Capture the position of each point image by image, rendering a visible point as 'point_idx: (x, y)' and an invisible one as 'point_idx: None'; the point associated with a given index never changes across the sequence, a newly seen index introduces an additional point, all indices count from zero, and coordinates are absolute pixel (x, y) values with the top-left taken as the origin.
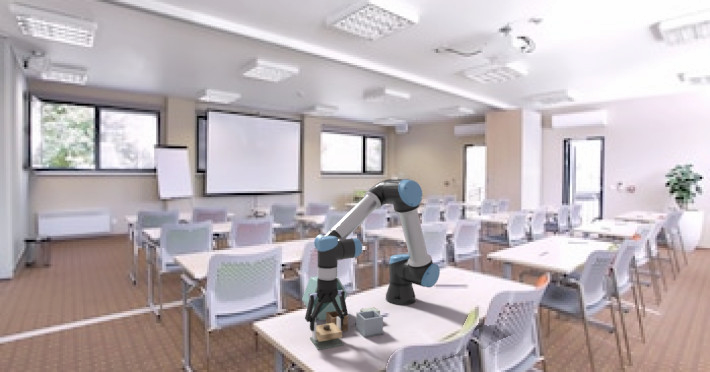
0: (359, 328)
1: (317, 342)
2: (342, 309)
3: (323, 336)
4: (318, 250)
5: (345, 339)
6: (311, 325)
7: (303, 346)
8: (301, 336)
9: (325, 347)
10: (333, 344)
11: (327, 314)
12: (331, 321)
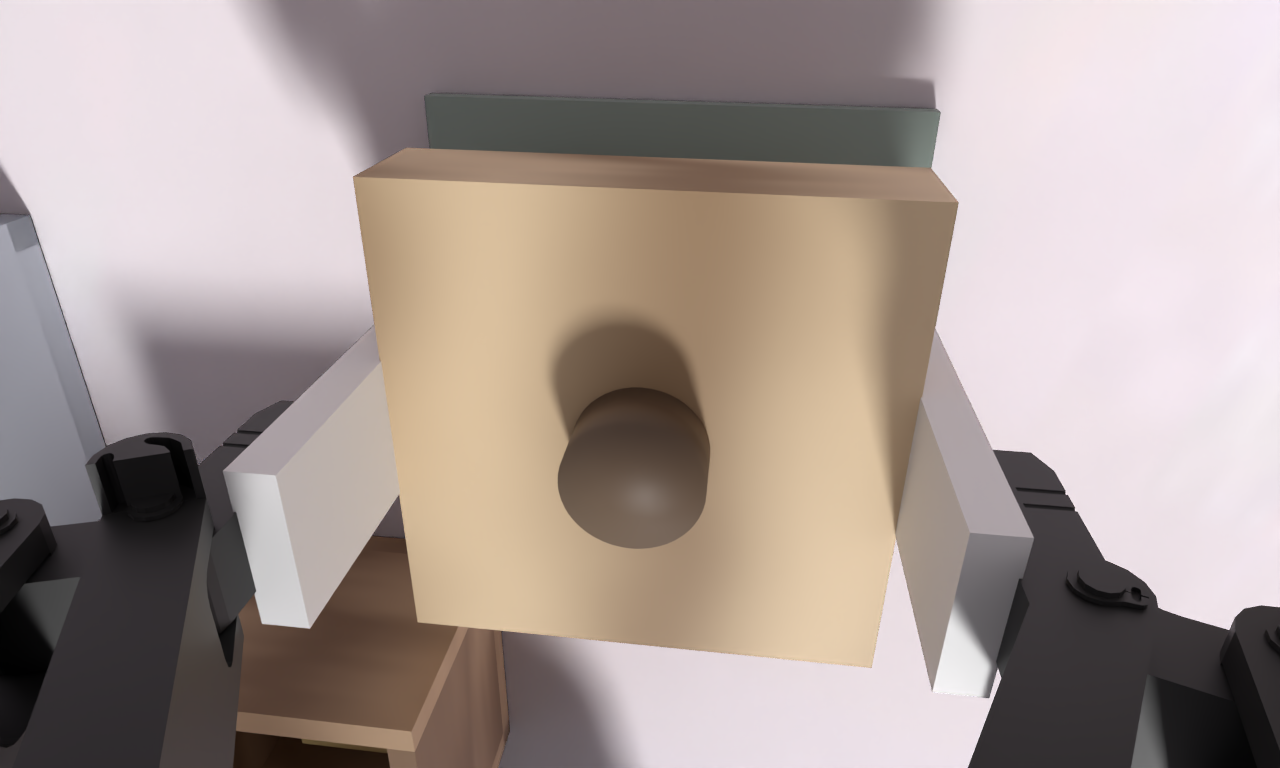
0: (38, 430)
1: None
2: (18, 736)
3: (833, 187)
4: None
5: (346, 286)
6: (1078, 536)
7: (1091, 348)
8: None
9: (783, 113)
10: None
11: None
12: (436, 693)
